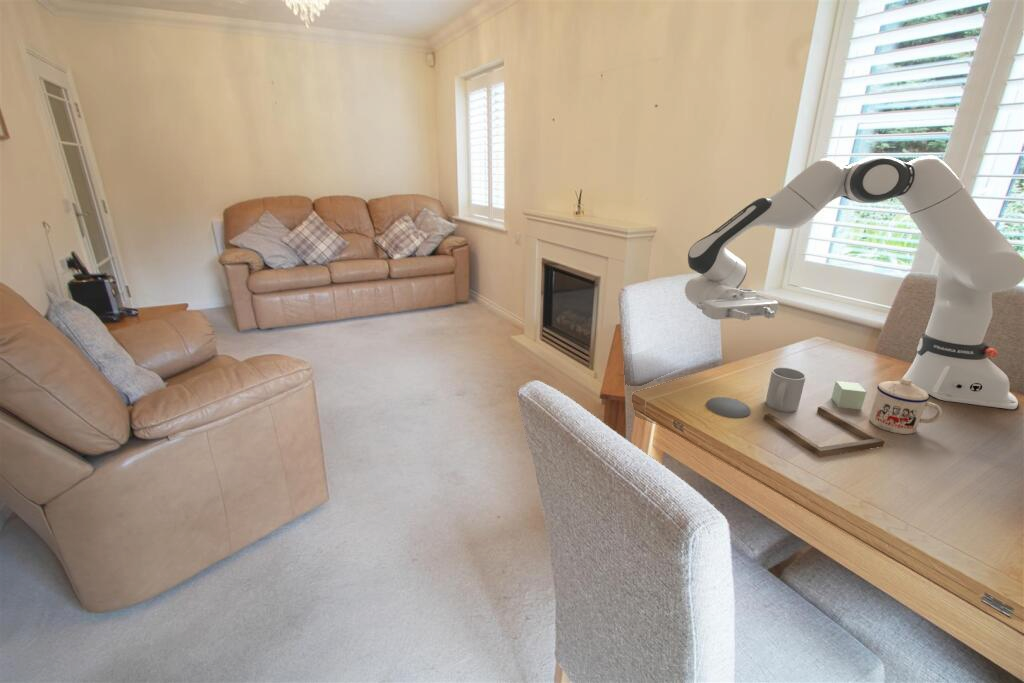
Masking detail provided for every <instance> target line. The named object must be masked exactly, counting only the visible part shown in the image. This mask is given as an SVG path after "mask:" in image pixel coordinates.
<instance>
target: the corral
mask: <svg viewBox="0 0 1024 683" xmlns="http://www.w3.org/2000/svg"><path fill="white" fill-rule="evenodd" d="M816 413H818V414H820V415H821V416H823V417H824V418H826V419H828V420H830V421H831V422H833V423H835V424H837V425H839V426H840V425H841V426H840V427H842V428H844V429H845V428H846V430H847V429H848V430H847V431H849V432H850V433H852V432H853V433H852V434H854V433H855V435H856V436H858V437H859V436H860V438H861V437H862V438H861V439H862V440H857V441H852V442H845V443H837V444H830V445H825V446H820V445H818V444H817V443H815V442H813V441H812V440H811V439H809V438H807V437H806V436H804V435H803V434H801V433H800V432H798V431H797V430H795V429H794V428H792V427H791V426H789V425H788V424H786V423H784V422H783V421H782V420H780V419H779V418H777V417H776V416H774V415H772V414H771V413H764V416H763V420H764V421H765V422H766V423H768V424H770V425H771V426H773V427H774V428H775V429H777V430H779V431H780V432H781V433H783V434H784V435H786V436H787V437H789V438H790V439H791V440H793V441H794V442H796V443H797V444H798V445H800V446H801V447H803V448H805V449H806V450H807V451H809V452H811V453H812V454H813V455H815V456H816V457H818V458H823V457H828V456H834V455H835V454H836V455H841V454H840V453H842V454H846V453H845V452H848V453H853V451H854V452H860V451H866V450H865V449H867V450H871V449H870V448H873V449H878V448H877V447H879V448H883V447H884V445H885V441H886V440H884V439H882V438H881V437H879V436H877V435H875V434H874V433H871V432H870V431H868V430H866V429H864V428H863V427H861V426H860V425H858V424H855V423H854V422H852V421H850V420H848V419H847V418H844V417H843V416H841V415H839V414H838V413H837V412H836V413H835V412H834V411H832V410H830V409H828V408H827V407H825V406H823V405H819V406H817V410H816ZM863 438H864V439H866V440H864V439H863ZM859 450H860V451H859Z"/></svg>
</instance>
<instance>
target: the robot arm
mask: <svg viewBox="0 0 1024 683" xmlns="http://www.w3.org/2000/svg"><path fill="white" fill-rule="evenodd" d="M838 198H844V199H847V200H849V201H853V202H856V203H860V204H869V203H873V204H874V203H880V202H884V201H887V200H891V199H893V198H895V199H896V200H898V201H899V202H900V203H902V205H903V206H904V209H905V210H906V212H907V213H908V215H909V216H910V218H911V219H912V221H913V223H914V224H915V225H916V227H917V229H918V230H919V231H920V232H921V234H922V235H923V237H924V238H925V240H926V241H927V242H928V243H929V244H930V245H931V247H932V248H933V249H934V250H935V251H936V253H938V254H939V257H938V263H939V264H938V265H939V266H938V272H937V273H938V274H937V279H936V287H935V297H934V303H933V308H932V311H931V315H930V318H929V320H928V324H927V326H926V329H925V332H923V333H922V335H921V337H920V339H919V342H918V345H917V349H916V351H917V354H916V355H915V357H914V360H913V362H912V363H911V365H910V367H909V369H908V370H907V371H906V373H905V374H904V376H902V378H907V379H910V380H911V381H912V384H914V385H915V386H917V387H919V388H921V389H923V390H924V391H926V392H927V393H928V395H930V396H931V397H934V398H936V399H938V400H940V401H946V402H953V403H954V402H955V403H961V404H970V405H976V406H983V407H992V408H1001V409H1007V410H1015V409H1017V408H1018V405H1019V401H1018V399H1017V398H1016V396H1015V394H1012V393H1013V392H1010V385H1011V384H1010V379H1009V377H1008V375H1006V373H1005V372H1004V371H1002V370H1001V369H1000V367H998V366H997V365H996V364H995V363H993V361H992V360H990V359H989V358H995V357H997V355H999V354H998V353H999V352H998V351H997V350H996V349H995V348H993V347H991V346H990V345H989V344H987V343H985V342H984V338H985V336H986V333H987V331H988V329H989V325H990V322H991V320H992V318H993V314H994V311H993V304H992V303H993V301H992V300H993V293H1001V292H1005V291H1008V290H1010V289H1012V288H1014V287H1017V286H1018V285H1019V284H1020V283H1021V282H1022V281H1023V280H1024V257H1022V256H1021V255H1020V254H1019V253H1018V251H1017V250H1016V249H1015V248H1014V246H1012V244H1011V243H1010V242H1009V241H1008V239H1007V238H1006V237H1005V236H1004V235H1003V233H1002V232H1001V231H1000V230H999V229H998V228H997V227H996V226H995V225H994V224H993V223H992V221H991V220H990V219H989V218H988V217H987V216H986V215H985V213H983V211H982V210H981V208H980V207H979V206H978V204H977V203H976V202H975V200H974V198H973V197H972V195H971V194H970V193H969V191H968V190H967V188H966V186H965V185H964V183H963V182H962V181H961V179H960V177H958V175H957V174H956V173H955V172H954V171H953V170H952V169H951V168H950V167H949V166H948V165H947V164H946V163H945V162H944V161H943V160H941V159H940V158H939V157H937V156H934V155H926V156H920V157H917V158H915V159H913V160H910V161H909V162H905V161H902V160H900V159H898V158H895V157H891V156H884V155H883V156H882V155H880V156H869V157H865V158H862V159H861V160H857V161H854V162H852V163H849V164H847V165H842V164H841V163H840V162H838V161H836V160H835V159H830V158H821V159H819V160H817V161H814V162H813V163H812V164H811V165H809V166H807V168H805V169H804V170H802V171H801V172H800V173H799V174H797V175H796V176H795V177H794V178H793V179H792V180H790V181H789V182H788V183H787V184H786V185H785V186H784V187H783V188H782V189H780V190H779V191H778V192H776V193H775V194H773V195H770V196H768V197H761V198H757V199H756V200H754V201H752V202H750V204H748V205H747V206H745V207H744V208H743V209H741V210H740V211H739V212H737V213H736V214H735V215H733V216H732V217H731V218H729V219H728V220H727V221H725V222H724V223H723V224H721V226H719V227H717V228H716V229H715V230H713V231H712V232H711V233H709V234H708V235H706V236H704V237H702V238H701V239H699V240H697V241H696V242H695V243H693V245H692V246H691V247H690V248H689V250H688V254H687V263H688V267H689V268H690V269H691V270H692V271H694V272H696V273H698V274H700V275H699V276H695V277H692V278H691V279H689V280H688V281H687V282H686V283H685V286H684V293H685V297H686V298H687V300H688V301H689V302H690V303H691V304H693V305H694V306H696V308H697V309H699V310H701V313H702V314H703V315H704V316H706V317H707V318H709V319H711V320H716V321H718V320H719V321H720V320H728V319H738V320H742V321H750V319H751V318H753V317H755V318H756V317H764V318H767V319H775V316H776V315H777V312H778V309H779V301H777V300H775V299H773V298H772V297H771V298H770V297H768V296H765V295H763V294H759V293H757V290H754V289H745V288H740V286H741V285H742V284H743V282H744V281H745V279H746V276H747V273H748V272H747V271H748V269H747V268H748V266H747V264H746V262H745V261H743V260H742V259H741V258H739V256H737V255H736V254H735V253H733V252H731V251H730V250H729V249H727V248H726V247H727V246H728V245H730V244H731V243H732V242H733V241H735V240H736V239H737V238H739V237H740V236H742V235H744V233H746V232H747V231H748V230H750V229H752V228H755V227H760V226H764V227H771V228H775V229H780V230H794V229H797V228H801V227H802V226H804V225H805V224H806V223H808V222H810V220H812V219H813V218H814V217H815V216H816V215H818V213H819V212H821V210H823V209H824V207H826V205H827V206H828V204H829V203H831V202H832V201H834V200H835V199H838Z"/></svg>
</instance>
